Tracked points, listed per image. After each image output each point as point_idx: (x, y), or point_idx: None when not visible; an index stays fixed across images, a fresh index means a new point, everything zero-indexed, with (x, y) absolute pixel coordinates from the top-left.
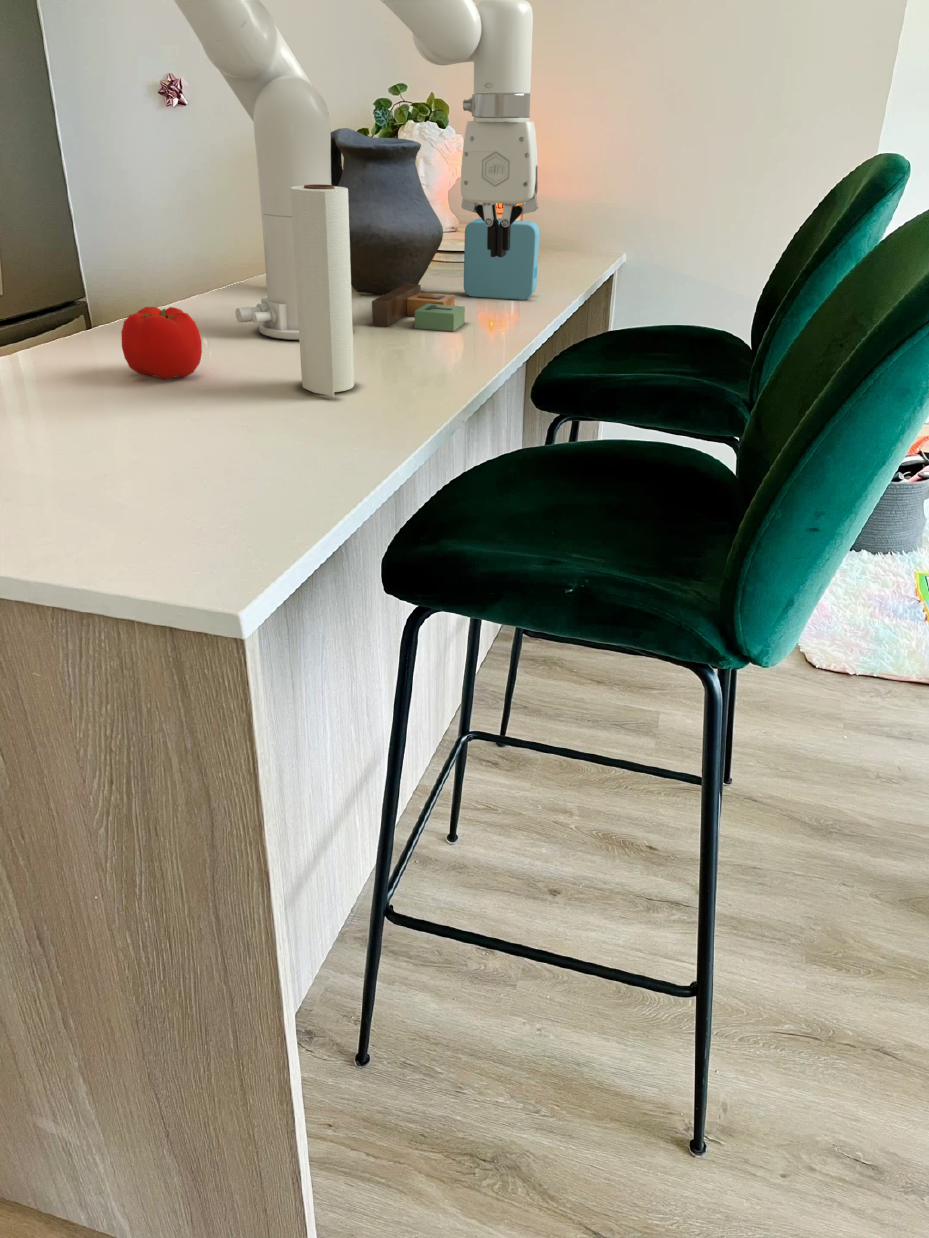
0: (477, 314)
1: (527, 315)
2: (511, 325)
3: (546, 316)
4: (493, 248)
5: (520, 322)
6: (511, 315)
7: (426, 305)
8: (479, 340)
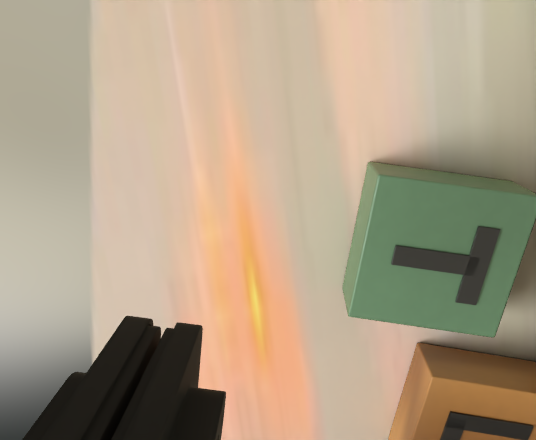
0: (315, 419)
1: None
2: (192, 298)
3: None
4: (168, 349)
5: None
6: None
7: (495, 303)
8: (262, 46)
